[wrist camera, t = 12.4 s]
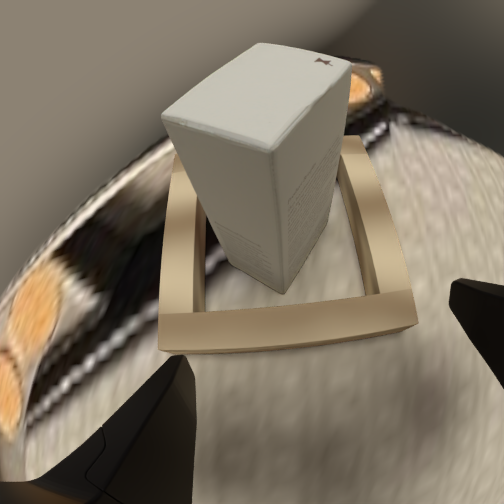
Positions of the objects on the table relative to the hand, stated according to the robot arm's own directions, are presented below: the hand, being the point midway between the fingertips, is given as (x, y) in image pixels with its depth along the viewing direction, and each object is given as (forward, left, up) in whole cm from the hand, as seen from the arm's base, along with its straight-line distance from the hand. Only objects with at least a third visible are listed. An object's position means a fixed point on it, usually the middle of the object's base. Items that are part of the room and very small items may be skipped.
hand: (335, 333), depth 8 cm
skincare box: (+7, +1, -8) cm, 11 cm away
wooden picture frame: (+8, +1, -8) cm, 11 cm away
